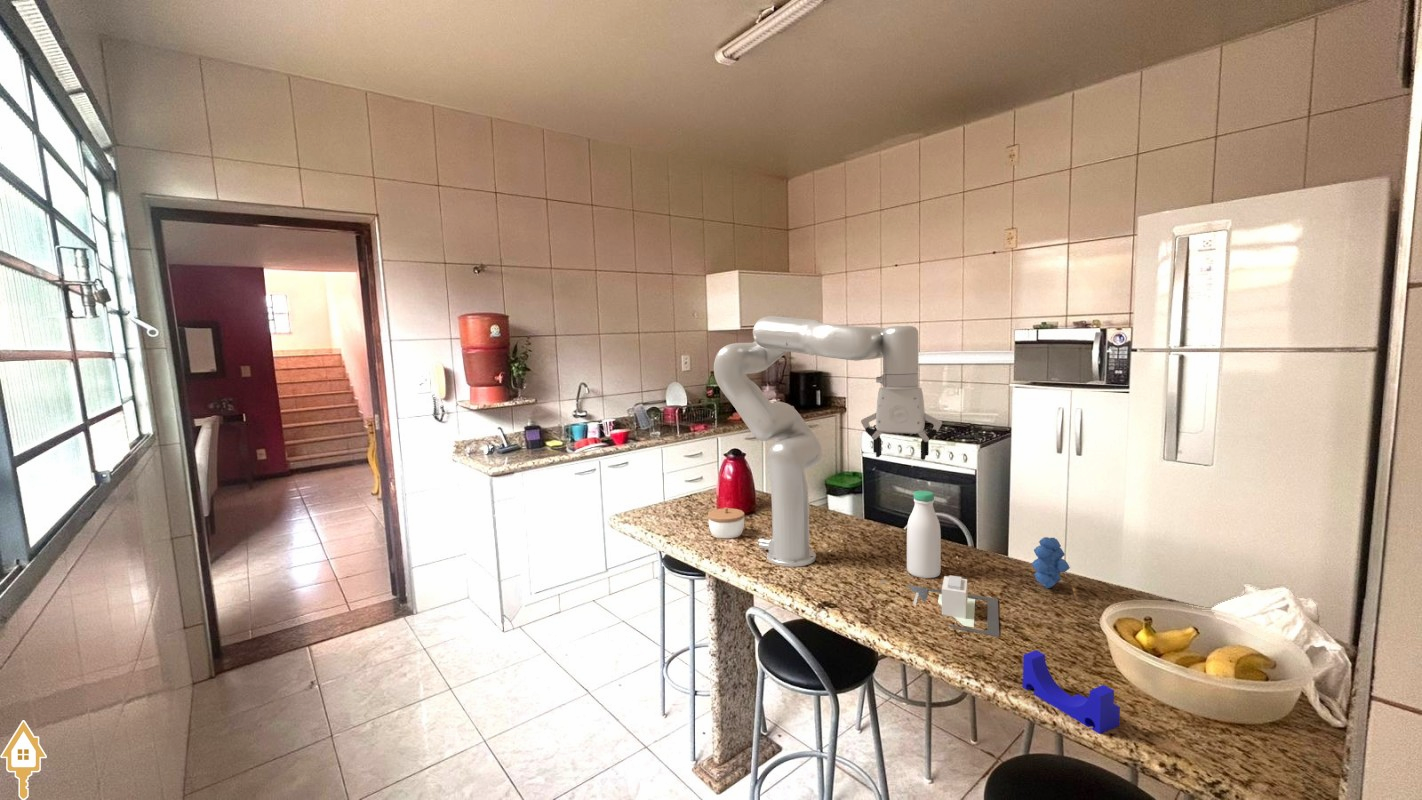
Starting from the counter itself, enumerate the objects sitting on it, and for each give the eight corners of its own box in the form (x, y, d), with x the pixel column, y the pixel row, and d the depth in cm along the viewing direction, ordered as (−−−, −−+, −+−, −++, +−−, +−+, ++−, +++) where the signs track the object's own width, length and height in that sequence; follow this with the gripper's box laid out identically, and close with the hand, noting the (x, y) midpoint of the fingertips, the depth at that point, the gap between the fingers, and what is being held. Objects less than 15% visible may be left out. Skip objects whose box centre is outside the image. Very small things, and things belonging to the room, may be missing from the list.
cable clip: (1119, 726, 82) (1120, 687, 81) (1099, 736, 80) (1100, 696, 79) (1041, 682, 93) (1042, 647, 92) (1022, 690, 91) (1023, 654, 90)
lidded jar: (744, 545, 160) (743, 513, 159) (707, 545, 161) (706, 513, 160) (745, 532, 171) (744, 502, 170) (710, 533, 172) (709, 503, 171)
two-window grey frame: (831, 607, 121) (831, 605, 121) (849, 577, 136) (849, 575, 136) (999, 637, 107) (999, 634, 107) (997, 599, 122) (997, 597, 122)
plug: (941, 614, 116) (941, 585, 115) (944, 600, 122) (944, 572, 121) (966, 619, 114) (966, 589, 113) (967, 604, 120) (968, 576, 119)
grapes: (1057, 601, 120) (1058, 547, 119) (1024, 591, 126) (1025, 539, 124) (1080, 586, 127) (1081, 534, 126) (1048, 577, 132) (1049, 527, 131)
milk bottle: (943, 579, 133) (944, 497, 131) (909, 578, 134) (909, 496, 132) (937, 567, 140) (937, 488, 138) (904, 565, 142) (904, 488, 140)
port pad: (934, 621, 113) (934, 620, 113) (939, 594, 125) (939, 593, 125) (973, 628, 110) (973, 627, 110) (975, 600, 122) (975, 599, 122)
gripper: (857, 383, 126) (858, 458, 128) (941, 383, 119) (940, 463, 120) (864, 380, 133) (864, 452, 134) (943, 380, 125) (943, 456, 127)
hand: (900, 457), depth 127 cm, fingers open, 9 cm apart
